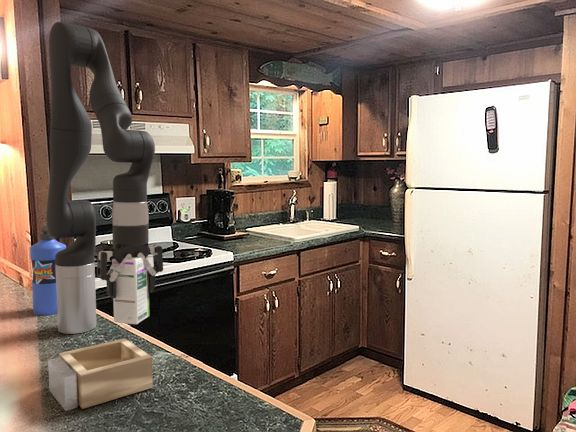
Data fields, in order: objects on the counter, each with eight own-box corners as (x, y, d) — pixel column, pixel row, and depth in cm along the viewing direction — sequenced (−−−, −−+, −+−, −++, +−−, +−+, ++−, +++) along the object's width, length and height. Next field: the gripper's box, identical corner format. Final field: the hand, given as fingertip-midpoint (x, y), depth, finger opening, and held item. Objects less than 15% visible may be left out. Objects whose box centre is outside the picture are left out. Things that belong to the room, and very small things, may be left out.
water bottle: (58, 315, 136) (55, 227, 134) (26, 315, 137) (21, 227, 134) (73, 306, 146) (70, 223, 143) (43, 305, 146) (39, 223, 143)
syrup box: (137, 325, 105) (136, 259, 103) (112, 322, 106) (111, 257, 105) (149, 316, 111) (149, 254, 109) (126, 314, 112) (125, 252, 110)
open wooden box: (60, 383, 94) (58, 353, 93) (125, 365, 102) (125, 338, 102) (82, 409, 84) (81, 375, 83) (152, 387, 92) (152, 357, 92)
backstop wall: (49, 390, 91) (48, 359, 90) (60, 387, 92) (59, 357, 92) (65, 411, 84) (64, 377, 83) (77, 407, 85) (76, 374, 84)
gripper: (153, 218, 113) (154, 286, 115) (91, 222, 104) (92, 295, 106) (168, 221, 108) (168, 293, 110) (104, 226, 98) (105, 304, 100)
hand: (131, 294), depth 108 cm, fingers closed on syrup box, 8 cm apart
